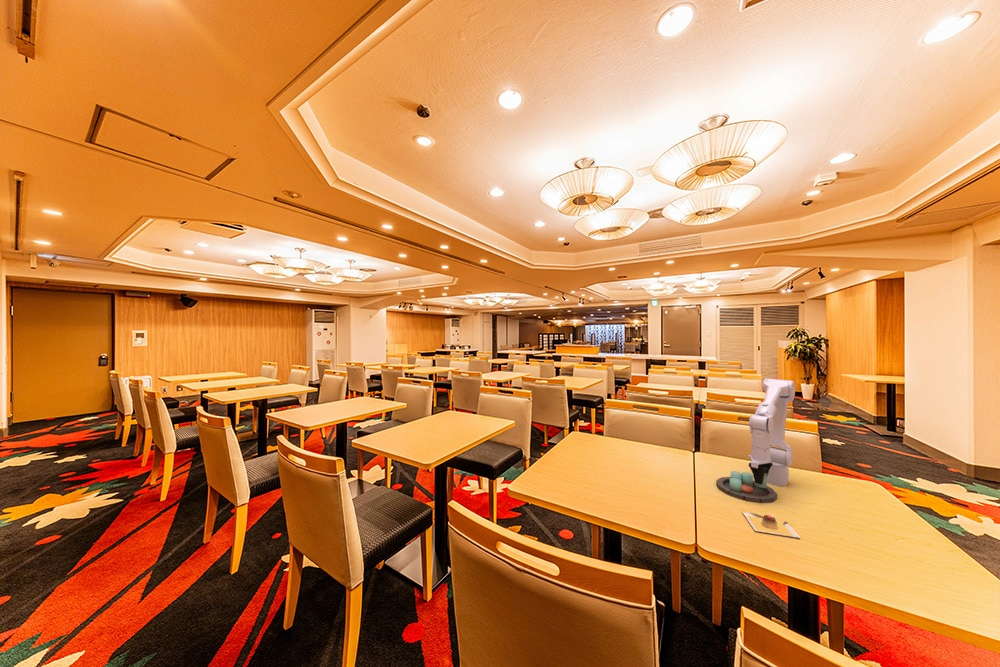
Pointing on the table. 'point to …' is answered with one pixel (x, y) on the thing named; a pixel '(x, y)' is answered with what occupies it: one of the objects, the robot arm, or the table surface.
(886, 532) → the table surface
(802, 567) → the table surface
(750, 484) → the pale green cylinder
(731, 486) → the grey green cylinder
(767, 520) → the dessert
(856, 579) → the table surface
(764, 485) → the bead
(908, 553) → the table surface
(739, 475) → the bead
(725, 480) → the ring tray
